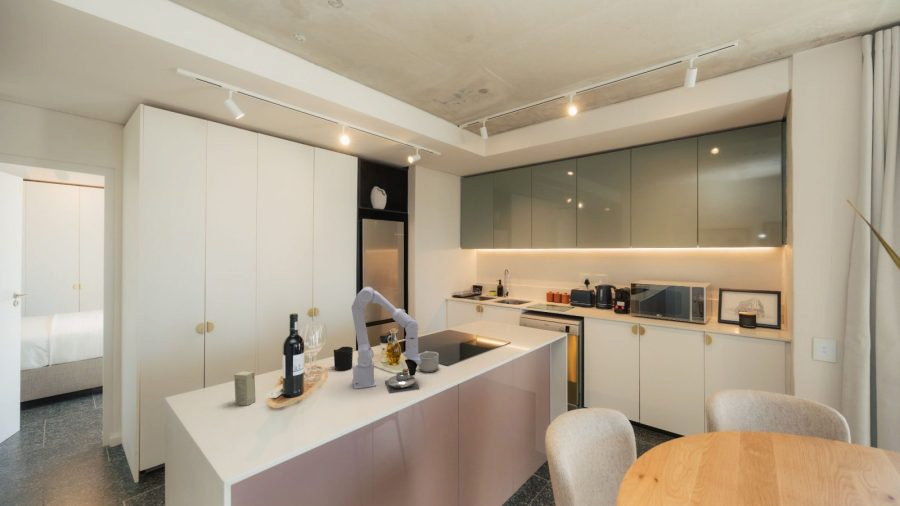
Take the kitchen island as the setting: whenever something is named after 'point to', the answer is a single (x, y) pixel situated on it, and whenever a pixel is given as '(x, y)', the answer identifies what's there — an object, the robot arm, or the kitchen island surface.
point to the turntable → (397, 384)
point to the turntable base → (394, 389)
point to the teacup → (429, 361)
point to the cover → (401, 376)
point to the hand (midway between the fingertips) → (412, 375)
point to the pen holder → (343, 358)
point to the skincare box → (244, 388)
